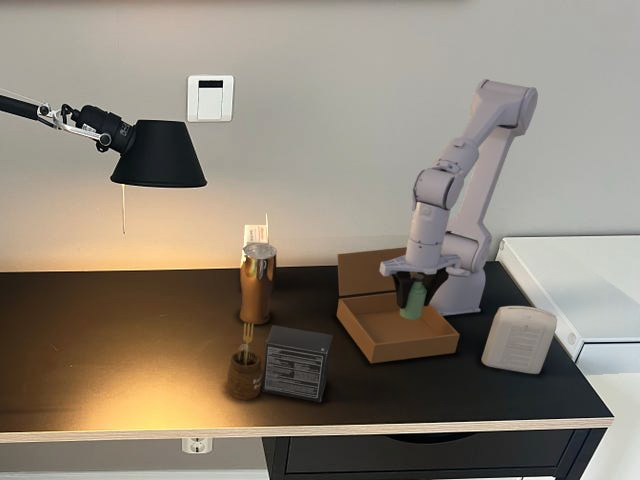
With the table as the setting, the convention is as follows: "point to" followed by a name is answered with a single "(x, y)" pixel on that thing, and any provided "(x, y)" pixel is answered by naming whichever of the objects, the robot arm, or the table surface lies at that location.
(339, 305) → the carton
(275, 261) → the beer glass
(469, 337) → the table surface
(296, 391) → the small box
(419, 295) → the bottle
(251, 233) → the ink cartridge box
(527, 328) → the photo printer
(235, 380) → the utensil holder
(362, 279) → the flap
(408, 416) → the table surface
